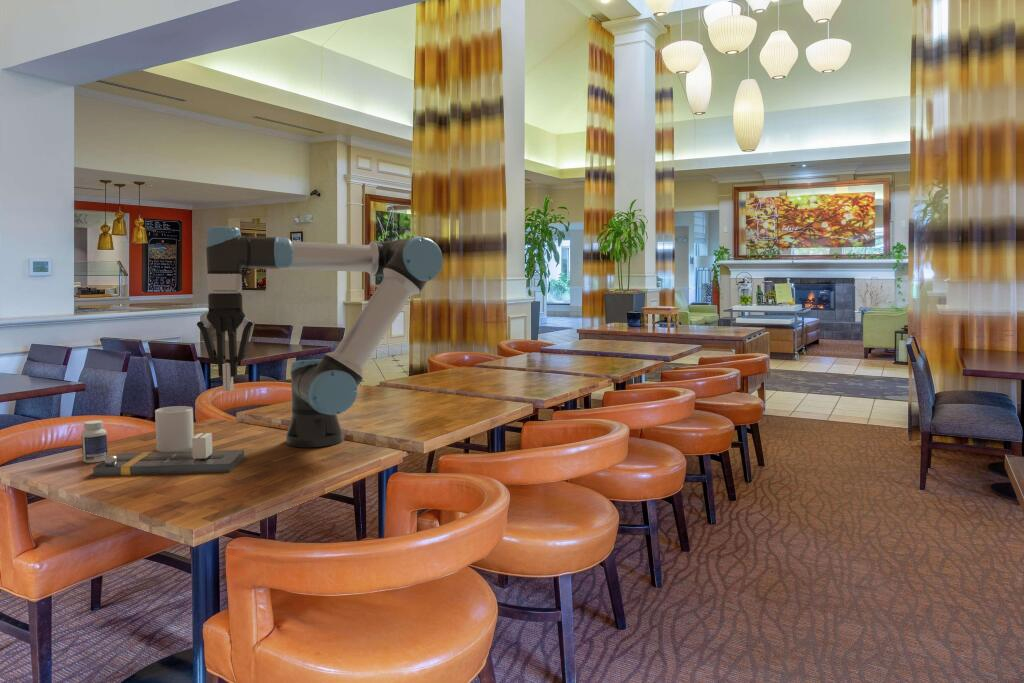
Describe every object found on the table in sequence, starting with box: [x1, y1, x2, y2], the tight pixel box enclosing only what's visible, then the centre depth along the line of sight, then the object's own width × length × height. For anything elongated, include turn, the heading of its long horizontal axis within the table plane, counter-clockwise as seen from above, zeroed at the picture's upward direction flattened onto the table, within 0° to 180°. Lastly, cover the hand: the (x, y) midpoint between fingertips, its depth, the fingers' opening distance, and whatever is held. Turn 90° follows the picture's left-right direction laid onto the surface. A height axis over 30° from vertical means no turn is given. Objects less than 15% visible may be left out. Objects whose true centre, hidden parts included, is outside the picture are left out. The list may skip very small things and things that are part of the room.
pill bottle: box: [80, 420, 109, 464], centre depth 170 cm, size 5×5×10 cm
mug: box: [154, 405, 195, 452], centre depth 181 cm, size 12×9×11 cm
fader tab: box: [192, 432, 213, 459], centre depth 166 cm, size 3×5×5 cm, turn 7°
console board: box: [92, 449, 245, 477], centre depth 165 cm, size 30×13×4 cm, turn 97°
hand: (228, 390), depth 165 cm, fingers closed
